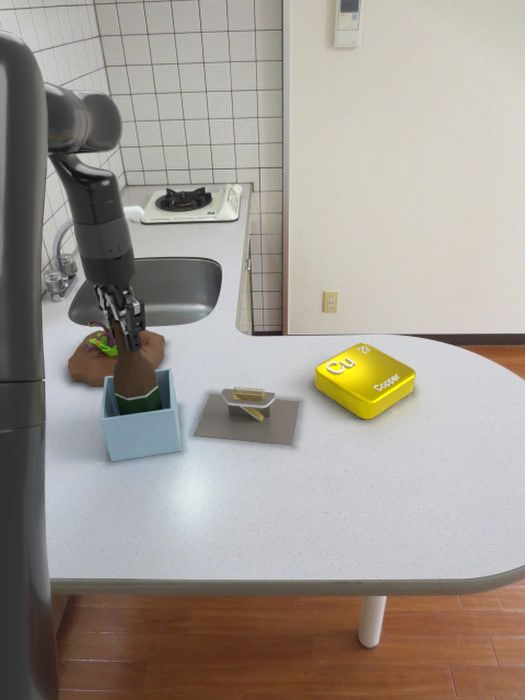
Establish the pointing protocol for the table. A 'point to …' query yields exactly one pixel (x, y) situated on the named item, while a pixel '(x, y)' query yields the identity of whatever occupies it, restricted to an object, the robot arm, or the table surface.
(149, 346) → the plant
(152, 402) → the beer bottle
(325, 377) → the element tile
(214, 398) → the platform
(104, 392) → the case
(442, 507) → the table surface
